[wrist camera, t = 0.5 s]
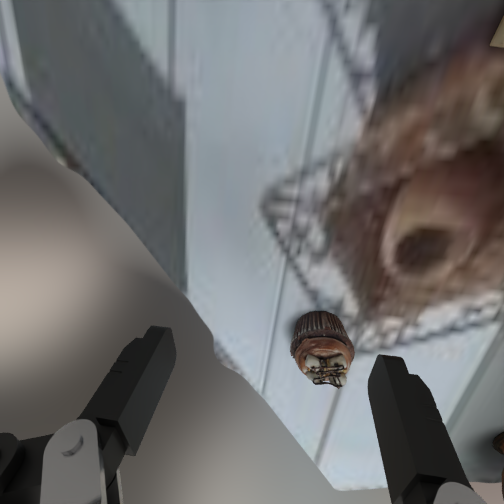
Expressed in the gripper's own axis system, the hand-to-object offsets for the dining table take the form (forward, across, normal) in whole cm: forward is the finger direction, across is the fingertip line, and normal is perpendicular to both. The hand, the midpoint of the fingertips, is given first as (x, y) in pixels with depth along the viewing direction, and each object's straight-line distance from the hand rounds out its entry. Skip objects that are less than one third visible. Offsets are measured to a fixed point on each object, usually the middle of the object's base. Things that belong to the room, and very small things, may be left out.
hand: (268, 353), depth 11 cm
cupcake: (+27, -7, +26) cm, 39 cm away
